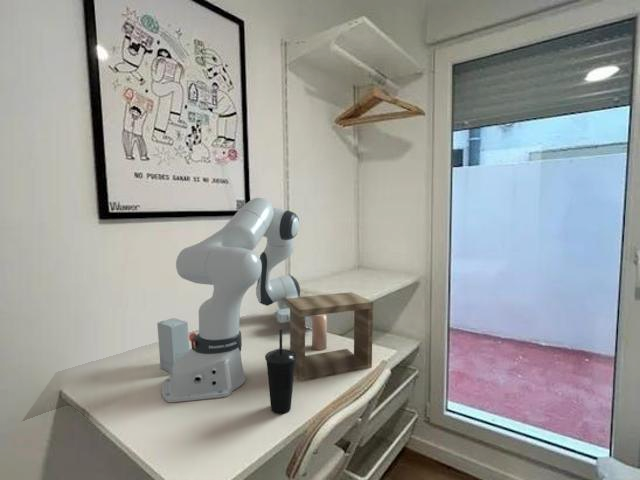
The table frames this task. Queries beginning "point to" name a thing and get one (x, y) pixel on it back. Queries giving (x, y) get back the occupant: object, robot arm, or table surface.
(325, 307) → the under counter shelf
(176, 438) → the table surface
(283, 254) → the robot arm
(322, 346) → the peach tapered cylinder
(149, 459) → the table surface
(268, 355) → the drinking cup
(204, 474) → the table surface
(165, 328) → the skincare box
